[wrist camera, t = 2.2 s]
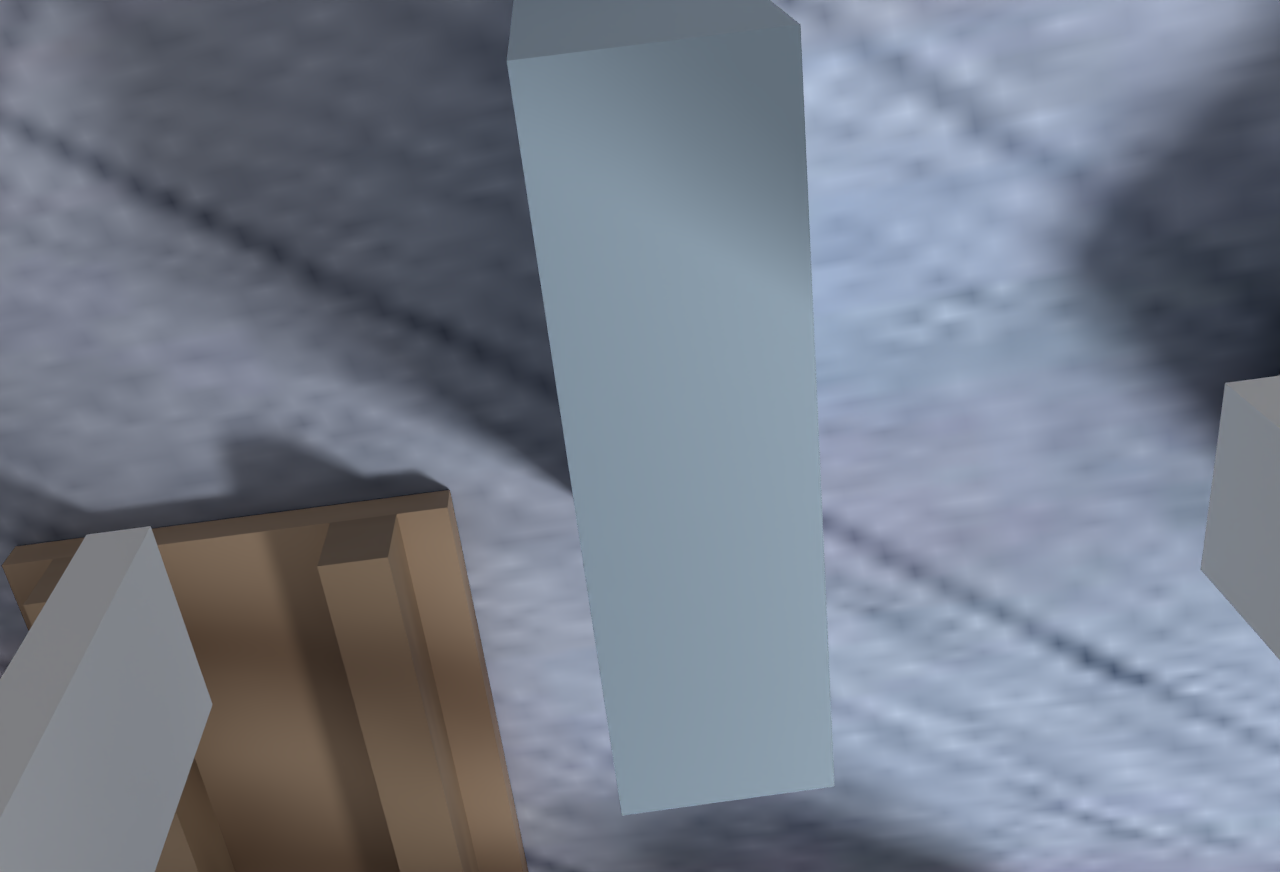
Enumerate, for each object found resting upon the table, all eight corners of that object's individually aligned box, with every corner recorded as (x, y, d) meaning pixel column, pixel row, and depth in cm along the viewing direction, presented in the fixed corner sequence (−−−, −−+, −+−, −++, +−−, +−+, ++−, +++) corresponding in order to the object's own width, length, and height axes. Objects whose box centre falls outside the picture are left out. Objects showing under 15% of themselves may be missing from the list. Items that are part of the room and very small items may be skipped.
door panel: (742, 487, 29) (834, 786, 20) (594, 506, 29) (622, 816, 20) (699, -56, 23) (800, 24, 14) (517, -33, 23) (506, 60, 14)
